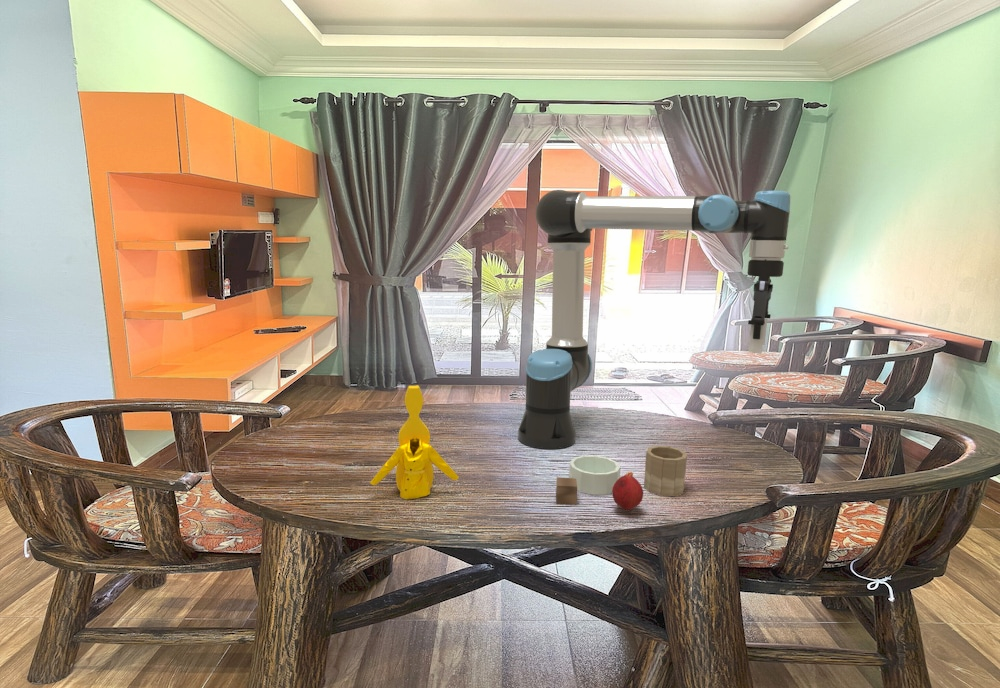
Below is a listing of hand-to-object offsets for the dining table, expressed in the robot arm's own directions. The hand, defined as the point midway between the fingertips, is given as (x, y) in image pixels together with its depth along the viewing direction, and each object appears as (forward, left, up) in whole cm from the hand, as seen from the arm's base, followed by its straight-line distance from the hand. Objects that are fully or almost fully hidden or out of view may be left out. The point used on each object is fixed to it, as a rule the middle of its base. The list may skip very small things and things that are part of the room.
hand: (756, 348), depth 134 cm
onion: (-20, -43, -28) cm, 55 cm away
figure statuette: (-61, -55, -28) cm, 87 cm away
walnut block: (-32, -44, -27) cm, 61 cm away
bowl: (-29, -34, -27) cm, 53 cm away
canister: (-15, -29, -27) cm, 43 cm away
